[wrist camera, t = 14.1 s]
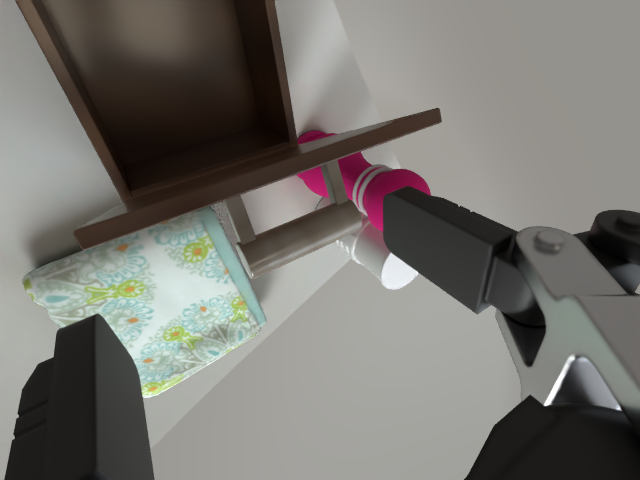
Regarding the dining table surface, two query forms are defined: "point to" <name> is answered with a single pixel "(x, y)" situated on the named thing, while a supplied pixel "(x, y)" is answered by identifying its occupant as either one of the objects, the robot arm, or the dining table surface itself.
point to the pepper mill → (362, 181)
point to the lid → (241, 178)
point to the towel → (158, 296)
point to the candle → (374, 253)
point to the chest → (169, 83)
